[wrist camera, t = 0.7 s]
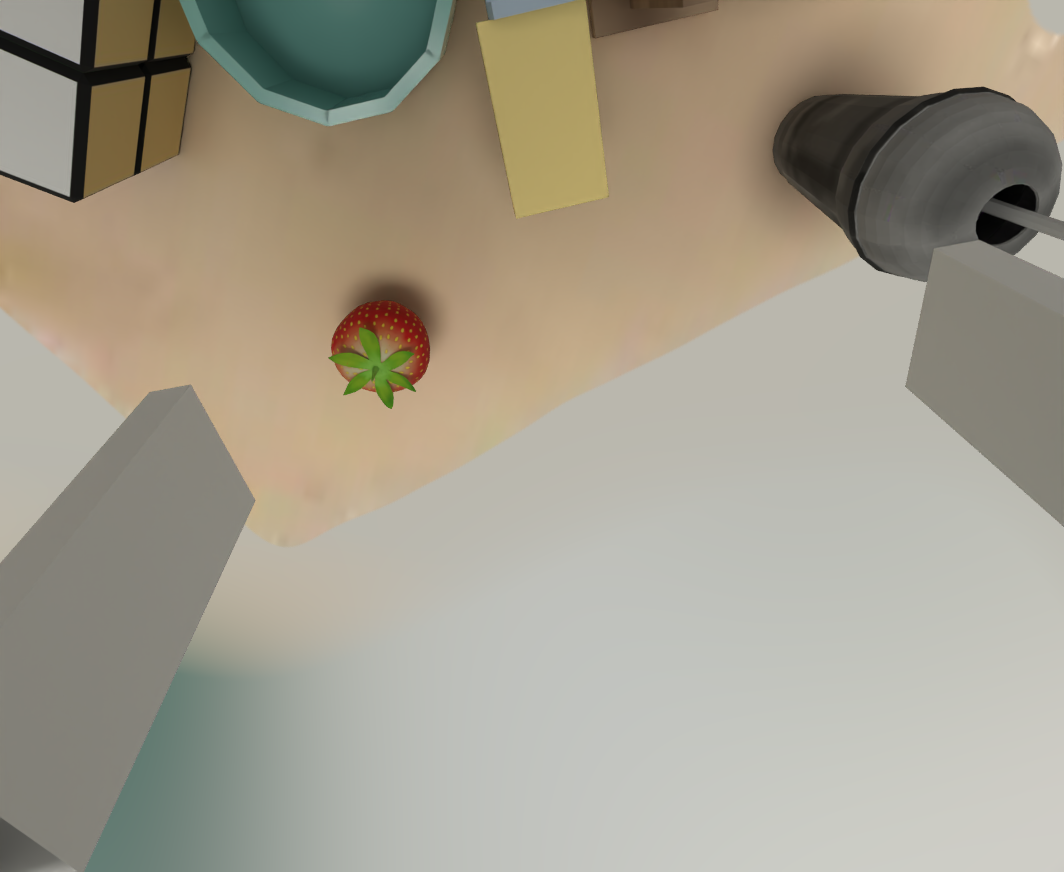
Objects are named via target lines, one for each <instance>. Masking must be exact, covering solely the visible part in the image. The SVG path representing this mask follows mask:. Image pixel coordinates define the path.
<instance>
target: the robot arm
mask: <svg viewBox="0 0 1064 872" xmlns="http://www.w3.org/2000/svg"><path fill="white" fill-rule="evenodd" d="M905 387H906V388H907V389H909V390H910V391H911V392H912V393H913V394H914V395H915V396H916V397H918V398H919V399H920V400H921V401H922V402H923V403H924V404H926V405H927V406H928V407H929V408H930V409H931V410H932V411H933V412H935V413H936V414H937V415H938V416H939V417H940V418H941V419H943V420H944V421H945V422H946V423H947V424H948V425H949V426H950V427H952V428H953V429H954V430H955V431H956V432H957V433H958V434H959V435H961V436H962V437H963V438H964V439H965V440H966V441H967V442H969V443H970V444H971V445H972V446H973V447H974V448H975V449H977V450H978V451H979V452H980V453H981V454H982V455H983V456H984V457H986V458H987V459H988V460H989V461H990V462H991V463H992V464H993V465H995V466H996V467H997V468H998V469H999V470H1000V471H1001V472H1003V473H1004V474H1005V475H1006V476H1007V477H1008V478H1009V479H1011V480H1012V481H1013V482H1014V483H1015V484H1016V485H1017V486H1018V487H1019V488H1021V489H1022V490H1023V491H1024V492H1025V493H1026V494H1027V495H1029V496H1030V497H1031V498H1032V499H1033V500H1034V501H1035V502H1036V503H1038V504H1039V505H1040V506H1041V507H1042V508H1043V509H1044V510H1045V511H1047V512H1048V513H1049V514H1050V515H1051V516H1052V517H1053V518H1055V519H1056V520H1057V521H1058V522H1059V523H1060V524H1061V525H1062V526H1064V278H1061V277H1059V276H1057V275H1055V274H1053V273H1050V272H1048V271H1046V270H1044V269H1042V268H1039V267H1037V266H1035V265H1033V264H1031V263H1029V262H1026V261H1024V260H1022V259H1020V258H1018V257H1016V256H1013V255H1011V254H1009V253H1007V252H1005V251H1002V250H1000V249H998V248H996V247H994V246H992V245H989V244H987V243H985V242H983V241H981V240H977V241H972V242H966V243H961V244H955V245H950V246H945V247H939V248H934V251H933V256H932V261H931V266H930V270H929V275H928V280H927V285H926V290H925V295H924V300H923V304H922V309H921V314H920V319H919V323H918V328H917V333H916V338H915V343H914V347H913V352H912V357H911V362H910V367H909V371H908V377H907V382H906V386H905ZM254 502H255V499H254V497H253V495H252V493H251V492H250V490H249V488H248V486H247V484H246V483H245V481H244V479H243V477H242V475H241V474H240V472H239V470H238V468H237V466H236V465H235V463H234V461H233V459H232V458H231V456H230V454H229V452H228V450H227V449H226V447H225V445H224V443H223V441H222V440H221V438H220V436H219V434H218V432H217V431H216V429H215V427H214V425H213V423H212V422H211V420H210V418H209V416H208V414H207V413H206V411H205V409H204V407H203V406H202V404H201V402H200V400H199V398H198V397H197V395H196V393H195V391H194V389H193V388H192V386H191V385H186V386H181V387H175V388H170V389H164V390H159V391H153V392H149V393H148V395H147V396H146V397H145V398H144V399H143V400H142V401H141V403H140V404H139V405H138V406H137V407H136V408H135V409H134V411H133V412H132V413H131V414H130V415H129V416H128V418H127V419H126V420H125V421H124V422H123V423H122V424H121V426H120V427H119V428H118V429H117V430H116V432H115V433H114V434H113V435H112V436H111V437H110V438H109V439H108V441H107V442H106V443H105V444H104V445H103V446H102V447H101V448H100V450H99V451H98V452H97V453H96V454H95V455H94V456H93V458H92V459H91V460H90V461H89V462H88V463H87V465H86V466H85V467H84V468H83V469H82V470H81V471H80V473H79V474H78V475H77V476H76V477H75V478H74V480H73V481H72V482H71V483H70V484H69V485H68V486H67V487H66V489H65V490H64V491H63V492H62V493H61V494H60V495H59V497H58V498H57V499H56V500H55V501H54V502H53V503H52V505H51V506H50V507H49V508H48V509H47V510H46V512H45V513H44V514H43V515H42V516H41V517H40V519H39V520H38V521H37V522H36V523H35V524H34V525H33V526H32V528H31V529H30V530H29V531H28V532H27V533H26V534H25V536H24V537H23V538H22V539H21V540H20V541H19V542H18V544H17V545H16V546H15V547H14V548H13V549H12V550H11V552H10V553H9V554H8V555H7V556H6V557H5V559H4V560H3V561H2V562H1V563H0V872H84V870H85V868H86V866H87V864H88V861H89V859H90V857H91V855H92V853H93V851H94V849H95V846H96V844H97V842H98V840H99V838H100V835H101V833H102V831H103V829H104V827H105V825H106V823H107V820H108V818H109V816H110V814H111V812H112V809H113V807H114V805H115V803H116V801H117V799H118V796H119V794H120V792H121V790H122V788H123V786H124V784H125V781H126V779H127V777H128V775H129V773H130V771H131V768H132V766H133V764H134V762H135V760H136V758H137V756H138V753H139V751H140V749H141V747H142V745H143V742H144V740H145V738H146V736H147V734H148V732H149V729H150V727H151V725H152V723H153V721H154V719H155V717H156V714H157V712H158V710H159V708H160V706H161V704H162V701H163V699H164V697H165V695H166V692H167V691H168V688H169V686H170V684H171V682H172V680H173V678H174V675H175V673H176V671H177V669H178V667H179V665H180V662H181V660H182V658H183V656H184V654H185V652H186V650H187V647H188V645H189V643H190V641H191V639H192V637H193V634H194V632H195V630H196V628H197V626H198V624H199V621H200V619H201V617H202V615H203V613H204V610H205V608H206V606H207V604H208V602H209V600H210V598H211V595H212V593H213V591H214V589H215V587H216V585H217V583H218V580H219V578H220V576H221V574H222V572H223V570H224V567H225V565H226V563H227V561H228V559H229V556H230V554H231V552H232V550H233V548H234V546H235V543H236V541H237V539H238V537H239V535H240V533H241V531H242V528H243V526H244V524H245V522H246V520H247V518H248V515H249V513H250V511H251V509H252V507H253V505H254Z"/></svg>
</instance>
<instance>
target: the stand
mask: <svg viewBox="0 0 1064 872" xmlns="http://www.w3.org/2000/svg"><path fill="white" fill-rule="evenodd" d="M588 1H589V10H590V19H591V27H592V36H593V38H598V37H603V36H607V35H611V34H616V33H620V32H624V31H629V30H633V29H637V28H641V27H646V26H650V25H654V24H659V23H663V22H667V21H671V20H676V19H680V18H684V17H689V16H693V15H697V14H702V13H706V12H710V11H714V10H718V0H588Z"/></svg>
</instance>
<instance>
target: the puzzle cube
mask: <svg viewBox="0 0 1064 872" xmlns="http://www.w3.org/2000/svg"><path fill="white" fill-rule="evenodd" d="M194 44H195V36H194V34H193V32H192V29H191V27H190V24H189V22H188V20H187V17H186V15H185V13H184V10H183V8H182V6H181V3H180V1H179V0H0V175H3V176H5V177H8V178H10V179H13V180H16V181H18V182H21V183H23V184H26V185H29V186H31V187H34V188H36V189H39V190H42V191H44V192H47V193H50V194H52V195H55V196H57V197H60V198H63V199H65V200H68V201H70V202H73V203H75V202H77V201H79V200H82V199H84V198H86V197H88V196H90V195H93V194H95V193H97V192H99V191H101V190H103V189H105V188H108V187H110V186H112V185H114V184H116V183H118V182H120V181H123V180H125V179H127V178H129V177H131V176H134V175H136V174H139V173H141V172H143V171H145V170H147V169H149V168H151V167H153V166H155V165H158V164H160V163H162V162H164V161H166V160H168V159H170V158H172V157H174V156H176V155H178V153H179V146H180V139H181V132H182V126H183V119H184V112H185V105H186V98H187V91H188V84H189V77H190V70H191V67H190V65H189V63H188V62H187V60H186V58H185V57H186V56H188V55H190V54H192V53H193V51H194Z"/></svg>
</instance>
